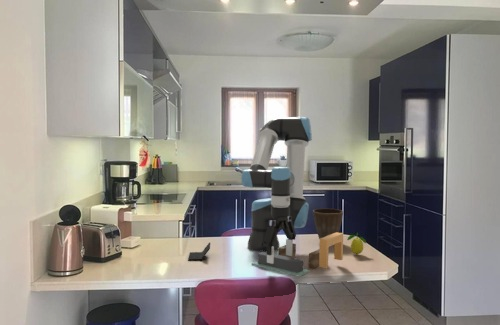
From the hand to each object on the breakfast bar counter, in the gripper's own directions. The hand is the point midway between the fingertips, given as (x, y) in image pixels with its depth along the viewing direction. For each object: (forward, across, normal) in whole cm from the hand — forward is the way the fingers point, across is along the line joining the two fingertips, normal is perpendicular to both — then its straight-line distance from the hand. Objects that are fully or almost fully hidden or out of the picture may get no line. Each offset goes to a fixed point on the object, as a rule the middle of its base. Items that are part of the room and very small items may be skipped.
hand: (280, 259), depth 160 cm
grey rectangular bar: (+3, 0, 0) cm, 3 cm away
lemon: (+4, +38, -16) cm, 41 cm away
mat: (+4, 0, 0) cm, 4 cm away
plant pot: (+4, +51, +5) cm, 51 cm away
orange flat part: (+1, +12, -16) cm, 20 cm away
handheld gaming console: (+4, -9, +36) cm, 37 cm away
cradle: (+4, +12, -3) cm, 13 cm away
